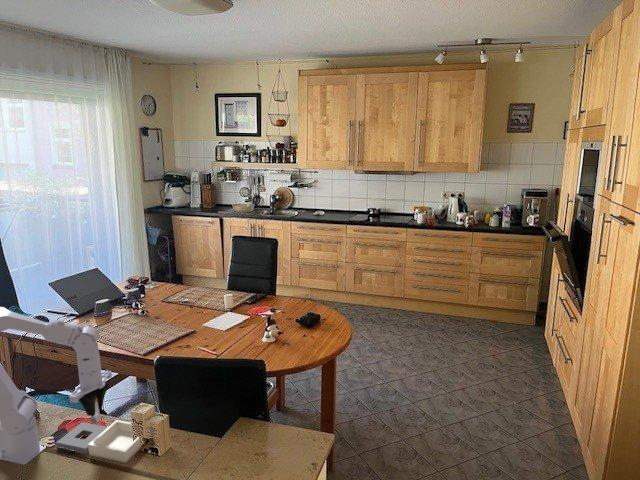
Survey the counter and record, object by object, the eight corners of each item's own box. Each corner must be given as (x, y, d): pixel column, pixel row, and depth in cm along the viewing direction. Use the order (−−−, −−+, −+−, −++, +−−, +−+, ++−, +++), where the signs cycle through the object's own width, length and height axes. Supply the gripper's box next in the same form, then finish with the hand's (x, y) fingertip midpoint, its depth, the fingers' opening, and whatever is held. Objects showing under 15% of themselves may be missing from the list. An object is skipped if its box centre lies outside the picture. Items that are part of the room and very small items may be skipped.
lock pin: (89, 422, 134) (86, 399, 133) (95, 417, 137) (92, 394, 135) (96, 423, 134) (93, 400, 132) (102, 419, 136) (99, 395, 134)
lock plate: (56, 448, 134) (56, 442, 134) (82, 427, 143) (81, 422, 143) (86, 454, 132) (85, 448, 131) (110, 433, 141) (109, 427, 140)
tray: (89, 455, 131) (87, 444, 130) (117, 429, 143) (116, 419, 142) (125, 463, 128) (124, 452, 128) (151, 436, 140) (151, 426, 139)
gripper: (82, 383, 124) (88, 428, 127) (118, 358, 137) (122, 400, 140) (60, 380, 125) (66, 424, 128) (98, 356, 139) (103, 396, 142)
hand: (94, 411), depth 135 cm, fingers closed on lock pin, 2 cm apart
